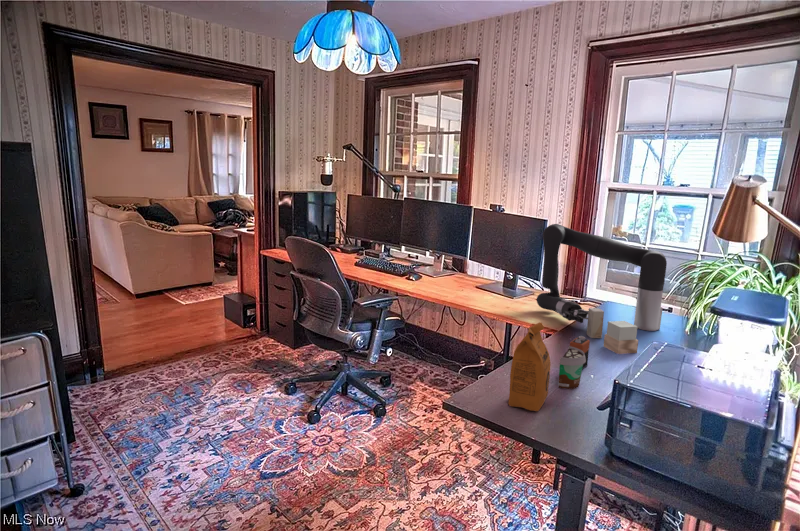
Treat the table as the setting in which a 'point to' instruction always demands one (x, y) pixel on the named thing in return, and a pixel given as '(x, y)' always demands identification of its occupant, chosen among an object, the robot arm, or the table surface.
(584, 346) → the battery
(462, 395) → the table surface
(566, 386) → the food container
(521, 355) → the coffee package
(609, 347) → the block
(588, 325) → the box
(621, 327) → the tower top
